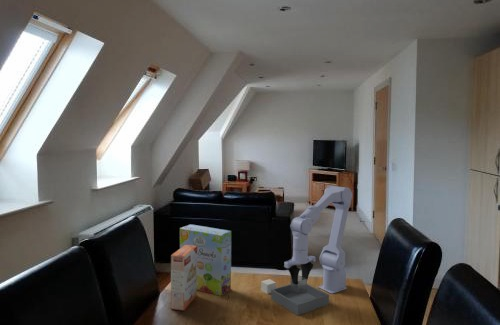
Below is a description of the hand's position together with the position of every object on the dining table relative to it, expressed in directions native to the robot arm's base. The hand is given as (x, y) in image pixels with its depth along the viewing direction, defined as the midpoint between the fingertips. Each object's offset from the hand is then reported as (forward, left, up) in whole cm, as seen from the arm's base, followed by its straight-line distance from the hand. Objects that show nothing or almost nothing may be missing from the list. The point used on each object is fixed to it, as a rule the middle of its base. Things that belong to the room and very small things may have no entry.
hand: (299, 282), depth 146 cm
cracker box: (+38, -24, -8) cm, 46 cm away
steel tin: (0, -1, -4) cm, 4 cm away
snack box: (+25, -32, -8) cm, 41 cm away
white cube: (+4, -15, -8) cm, 17 cm away
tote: (0, 0, -8) cm, 8 cm away
